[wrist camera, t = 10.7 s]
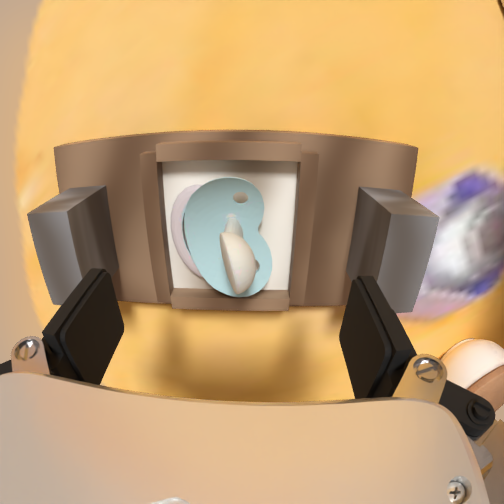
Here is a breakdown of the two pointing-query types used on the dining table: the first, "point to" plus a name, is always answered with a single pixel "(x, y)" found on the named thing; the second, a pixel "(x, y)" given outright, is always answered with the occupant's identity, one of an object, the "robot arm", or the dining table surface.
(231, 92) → the dining table surface
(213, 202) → the pacifier
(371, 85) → the dining table surface
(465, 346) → the lidded jar
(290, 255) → the brown tray
